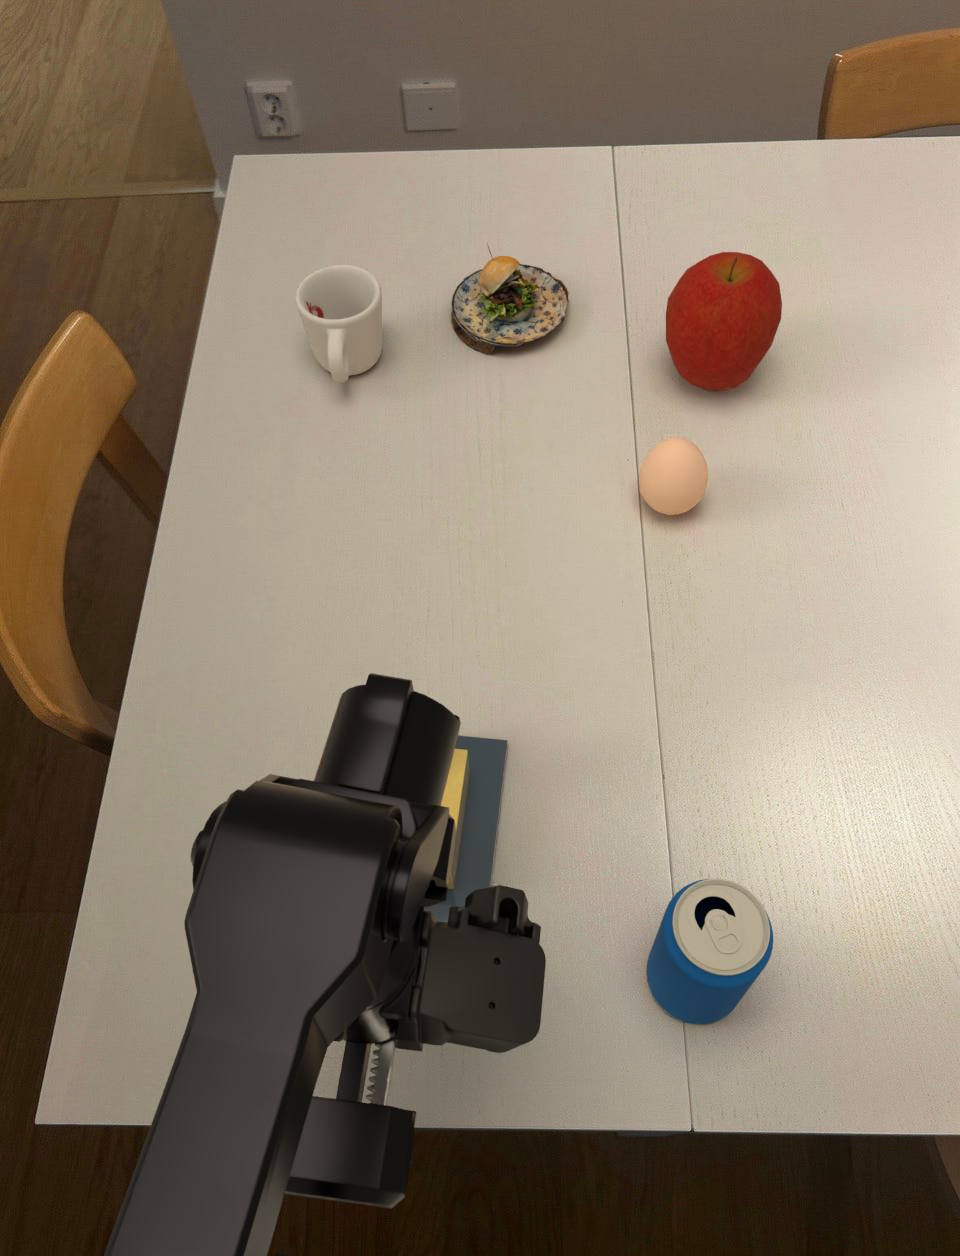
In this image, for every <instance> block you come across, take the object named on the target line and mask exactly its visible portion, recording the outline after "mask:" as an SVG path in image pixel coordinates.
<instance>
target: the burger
mask: <svg viewBox="0 0 960 1256" xmlns="http://www.w3.org/2000/svg"><path fill="white" fill-rule="evenodd" d="M486 246H487V249H488V252H489V255H490V256H491V259H490V260H489V261H487V262H486V263H485V265H484V266H483V268H482V269H478V270H476V271H474V272H472V273H471V274H470V275H467V276H466V277H464V278H463V280H462V281H460V282H459V284H458V285H457V286H456V288H455V289H454V290H455V291H453V294H452V297H451V298H452V299H451V313H450V315H451V316H450V317H451V323H452V327H453V330H454V331H455V333H456V335H458V337H459V338H460V339H461V340H462V341H463V342H464V343H465V344H466V345H468V346H470V347H471V348H472V349H477V350H480V351H481V352H482V353H485V354H487V355H490V354H492V353H493V351H494V350H495V347H506V348H508V347H509V348H510V347H513V348H516V347H519V346H521V345H523V344H527V343H530V342H534V341H538V340H540V339H542V338H543V337H545V336H547V335H548V334H550V333H551V332H552V331H554V330H555V329H556V328H557V327H558V326H559V325H560V324H562V323H563V322H564V321H565V317H566V315H567V313H566V312H567V310H568V307H569V304H570V300H569V295H570V293H569V290H568V288H567V286H566V285H565V284H564V283H563V280H561V279H558V278H556V277H554V276H553V275H552V273H551V272H549V271H545V270H544V269H543V268H541V267H539V266H538V267H537V266H533V265H529V264H522V263H521V262H520V261H518V259H516V258H515V257H513V256H509V255H498V256H494V257H493V255H492V252H491V250H490V247H489V244H488V243H486Z"/></svg>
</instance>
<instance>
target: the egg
mask: <svg viewBox="0 0 960 1256" xmlns="http://www.w3.org/2000/svg"><path fill="white" fill-rule="evenodd" d="M638 480H639V481H638V482H639V483H638V484H639V490H640V492H641V495H642V498H643V500H645V503H647V505H648V506H649V507H650V508H651V509H653V510H654V511H656V512H658V513H660V514H664V515H668V516H674V515H680V514H684V513H687V512H689V511H690V510H692V508H693V509H694V507H695V506H696V505H697V504H698V503H699V502H700V501H701V500H702V498H703V497H704V495H705V492H706V489H707V487H708V480H709V467H708V463H707V460H706V458H705V456H704V454H703V452H702V450H701V449H700V448H699V447H698V445H697V444H695V443H694V442H693V441H691V440H689V439H686V438H684V437H677V436H676V437H675V436H674V437H669V438H666V439H664V440H662V441H660V442H658V443H657V444H655V446H653V447H652V449H651V450H650V451H649V452H648V453H647V454H646V456H645V457H644V460H643V462H642V464H641V466H640V470H639V476H638Z"/></svg>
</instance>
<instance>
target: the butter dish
mask: <svg viewBox="0 0 960 1256" xmlns="http://www.w3.org/2000/svg"><path fill="white" fill-rule="evenodd" d="M508 742H509V741H508V740H507V739H500V738H488V737H479V736H468V735H458V737H457V741H456V746H455V750H454V754H453V758H452V762H451V766H450V770H449V774H448V778H447V782H446V786H445V790H444V794H443V798H442V802H441V806H444V807H449V815H450V816H451V817H452V818H453V819H454V820H455V826H456V839H455V846H454V853H453V861H452V868H451V875H450V880H449V883H448V891H447V898H446V901H444V902H441V903H438V904H435V905H433V906H430V907H427V908H425V911H432V914H434V915H437V919H438V922H447V923H448V918H449V911H450V907H453V906H459V907H465V900H466V897H467V896H468V895H469V894H470V893H472V892H473V891H475V890H477V889H482V888H487V887H492V879H493V871H494V863H495V862H494V861H495V855H496V846H497V845H496V844H497V837H498V827H499V823H500V822H499V821H500V814H501V813H500V812H501V803H502V797H503V796H502V795H503V787H504V779H505V772H506V771H505V770H506V762H507V754H508V748H509V747H508V746H509V743H508Z"/></svg>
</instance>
